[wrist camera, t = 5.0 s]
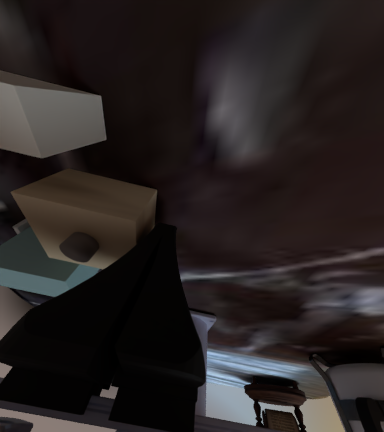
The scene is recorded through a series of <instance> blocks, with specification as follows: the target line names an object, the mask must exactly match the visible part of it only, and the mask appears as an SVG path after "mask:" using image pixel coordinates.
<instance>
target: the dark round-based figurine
mask: <svg viewBox="0 0 384 432" xmlns="http://www.w3.org/2000/svg"><path fill="white" fill-rule="evenodd" d="M292 386H293V388H290V387H285V386H278V385H269V384H257V380H256V378H255V376H253V383H251V384H248V385H245V386H244V389H245V393H246V394H247V395H248V396H249V397H250V398H251V399H253V400H254V410H255V413H256V416H257V417H256V420H257V421H258V422H257V423H256V426H258V427H263V428H268V429H273V430H278V431H284V432H306V430H305V428H306V426H305V425H303V414H302V412H301V411H300V409H299V407H300V406H301V405H303V403H304V402H305V401H306V397H305V393H304V392H303V391H301V390H299V389H298V387H297V384H296V383H295V381H292ZM258 402H263V403H267V404H274V405H282V406H294V407H295V410H294V413H295V415H296V418H297V420H298V422H299V425H298V424H297V421H296V419H295V417H294V416H293V414H292V413H290V412H283V411H277V410H270V409H265V413H264V411H262V417H263V424H264V426H263V424H262V423H261V421H262V418H261V417H260V414H261V407H260V405H259V403H258ZM299 427H300V428H301V430H299Z"/></svg>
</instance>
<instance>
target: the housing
mask: <svg viewBox="0 0 384 432" xmlns="http://www.w3.org/2000/svg"><path fill="white" fill-rule="evenodd" d="M11 194H12V196H13V197H14V199H15V201H16V202H17V204H18V206H19V207H20V209H21V211H22V213H23V214H24V216H25V218H26V219H27V221H28V223H29V225H30V226H31V228H32V230H33V231H34V233H35V235H36V236H37V238H38V240H39V242H40V243H41V245H42V247H43V248H44V250H45V252H46V253H47V255H48V257H49V258H54V259H58V260H63V261H68V262H72V263H77V264H81V265H86V266H90V267H95V268H99V269H105V268H106V267H108V266H109V265H111V264H112V263H114V262H115V261H116V260H118V259H119V258H121V257H122V256H123V255H124V254H126V253H127V252H128V251H129V250H131V249H132V248H133V247H134V246H135V245H137V244H138V243H139V242H140V241H141V240H142V239H143V238H144V237H145V236H146V235H147V234H148V233H149V232H150V231H151V230H152V229H153V228H154V224H155V211H156V198H157V190H156V189H152V188H148V187H144V186H140V185H135V184H131V183H127V182H123V181H119V180H115V179H111V178H107V177H102V176H98V175H94V174H90V173H86V172H82V171H78V170H73V169H69V168H68V169H65V170H63V171H60V172H58V173H56V174H53V175H51V176H48V177H46V178H43V179H41V180H39V181H36V182H34V183H31V184H29V185H26V186H24V187H22V188H19V189H17V190H14V191H12V192H11Z"/></svg>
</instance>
